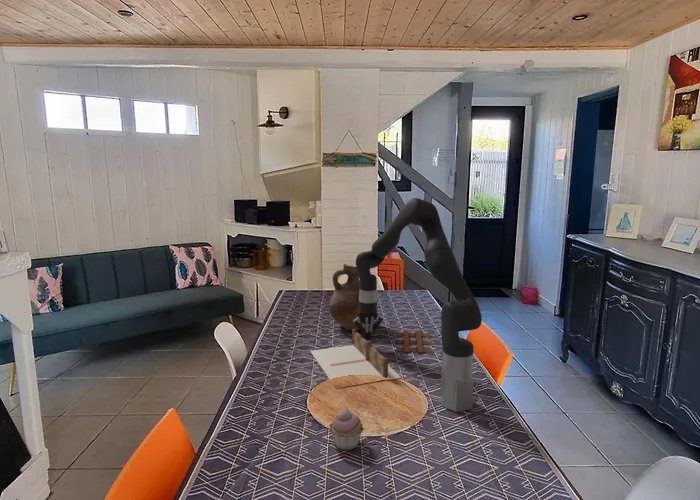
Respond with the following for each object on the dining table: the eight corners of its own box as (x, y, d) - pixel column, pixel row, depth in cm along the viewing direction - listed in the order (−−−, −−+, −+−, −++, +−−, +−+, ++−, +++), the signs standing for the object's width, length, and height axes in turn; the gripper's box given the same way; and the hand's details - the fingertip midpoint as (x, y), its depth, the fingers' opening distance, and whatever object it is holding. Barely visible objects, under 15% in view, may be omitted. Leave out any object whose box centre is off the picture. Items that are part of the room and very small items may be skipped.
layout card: (401, 377, 158) (401, 377, 158) (336, 388, 150) (336, 388, 150) (365, 343, 189) (365, 343, 189) (310, 351, 181) (310, 350, 181)
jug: (383, 331, 204) (384, 267, 198) (339, 338, 196) (338, 271, 191) (364, 317, 223) (364, 258, 218) (323, 323, 216) (322, 261, 210)
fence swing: (369, 356, 175) (369, 341, 174) (364, 356, 174) (365, 341, 173) (355, 342, 188) (355, 328, 187) (351, 343, 188) (351, 329, 187)
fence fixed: (389, 377, 158) (389, 357, 157) (383, 378, 157) (383, 358, 156) (370, 358, 174) (370, 340, 173) (364, 359, 174) (364, 340, 172)
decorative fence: (396, 354, 180) (434, 356, 179) (396, 350, 180) (434, 351, 178) (396, 334, 203) (429, 335, 201) (396, 330, 202) (430, 331, 201)
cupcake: (371, 442, 120) (371, 408, 118) (347, 459, 113) (347, 422, 112) (345, 429, 126) (345, 396, 125) (321, 444, 119) (321, 409, 118)
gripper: (355, 303, 177) (355, 345, 179) (386, 300, 181) (386, 341, 184) (349, 298, 184) (349, 339, 186) (379, 295, 188) (378, 335, 191)
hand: (367, 340), depth 185 cm, fingers closed
